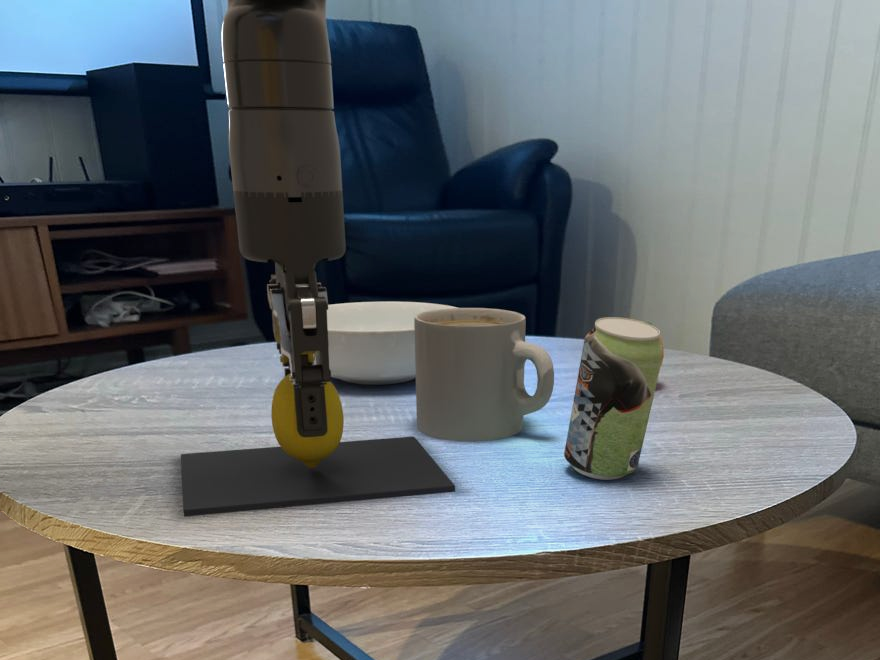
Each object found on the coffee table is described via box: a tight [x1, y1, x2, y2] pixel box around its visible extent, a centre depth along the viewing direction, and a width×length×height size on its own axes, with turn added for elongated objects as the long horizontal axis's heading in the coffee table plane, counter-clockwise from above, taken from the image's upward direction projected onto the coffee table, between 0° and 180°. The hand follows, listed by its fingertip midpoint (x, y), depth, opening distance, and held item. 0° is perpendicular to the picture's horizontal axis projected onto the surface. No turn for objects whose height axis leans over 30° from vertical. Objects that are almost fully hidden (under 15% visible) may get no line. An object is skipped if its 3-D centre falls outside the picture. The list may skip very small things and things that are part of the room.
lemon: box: [270, 373, 345, 468], centre depth 73 cm, size 6×6×8 cm
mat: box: [180, 436, 456, 517], centre depth 75 cm, size 20×14×1 cm
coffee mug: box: [414, 307, 555, 442], centre depth 85 cm, size 13×10×10 cm
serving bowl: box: [314, 301, 458, 386], centre depth 105 cm, size 21×21×7 cm
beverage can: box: [563, 316, 664, 481], centre depth 73 cm, size 6×7×12 cm
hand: (307, 424), depth 73 cm, fingers closed on lemon, 5 cm apart
